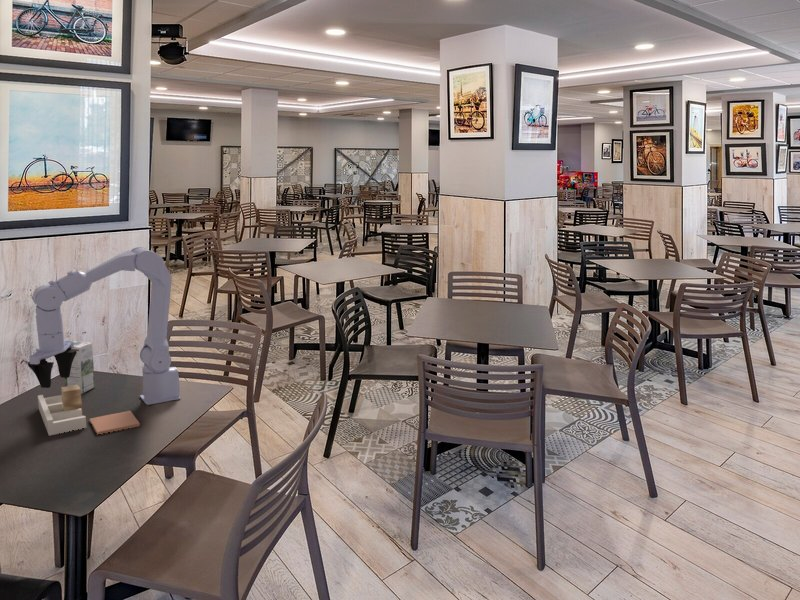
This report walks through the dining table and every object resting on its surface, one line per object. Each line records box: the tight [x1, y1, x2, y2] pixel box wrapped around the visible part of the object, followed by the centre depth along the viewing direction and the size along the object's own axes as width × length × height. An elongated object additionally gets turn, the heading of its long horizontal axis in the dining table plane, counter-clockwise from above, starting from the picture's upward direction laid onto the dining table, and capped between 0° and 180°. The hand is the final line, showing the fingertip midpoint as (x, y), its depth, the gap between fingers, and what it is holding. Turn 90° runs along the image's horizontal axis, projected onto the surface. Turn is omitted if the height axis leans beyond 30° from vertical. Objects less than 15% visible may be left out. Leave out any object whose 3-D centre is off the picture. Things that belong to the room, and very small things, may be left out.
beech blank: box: [60, 385, 84, 416], centre depth 156 cm, size 4×4×8 cm
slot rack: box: [37, 394, 88, 437], centre depth 154 cm, size 8×20×4 cm, turn 37°
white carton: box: [64, 340, 96, 395], centre depth 173 cm, size 6×6×14 cm
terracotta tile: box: [89, 410, 141, 436], centre depth 153 cm, size 10×10×1 cm
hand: (55, 382), depth 153 cm, fingers open, 7 cm apart
